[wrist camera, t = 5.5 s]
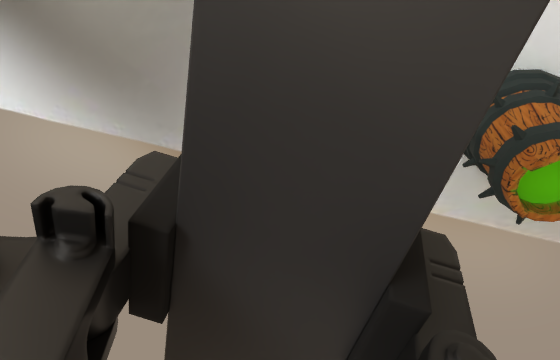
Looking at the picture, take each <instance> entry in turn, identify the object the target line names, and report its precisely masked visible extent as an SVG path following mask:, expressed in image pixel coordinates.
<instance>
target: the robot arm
mask: <svg viewBox="0 0 560 360" xmlns="http://www.w3.org/2000/svg"><path fill="white" fill-rule="evenodd" d="M180 166H181V155H180V156H179V158H177V157H173V156H170V155H167V154H163V153H160V152H156V151H153V152H151V153H149V154H147V155H144V156H142V157H140V158H138V159H137V160H136V161H135V162H134V163H133V164H132V165H131V166H130V167H129V168H128V169H127V170H126V173H123V174H122V175H121V176H120V177H119V178H118V179H117V182H116V183H114V184H113V185H112V186H111V187H110V188H109V189H108V190H107V191H106V192H105V193H103V192H102V191H100V190H98V189H94V188H91V187H87V186H66V187H60V188H55V189H53V190H50V191H48V192H46V193H43V194H41V195H40V196H39V197H37V198H36V199H35V200H34V201H33V202H32V203H31V209H32V214H33V219H34V224H35V230H36V235H37V237H6V236H0V360H107V357H108V355H109V352H110V348H111V346H112V343H113V341H114V338H115V335H116V332H117V325H118V315H119V313H120V312H121V310H122V309H123V307H124V305H125V304H126V302H127V301H128V299H129V314H132V315H135V316H138V317H142V318H145V319H148V320H151V321H154V322H157V323H161V324H162V323H163V321H164V319H165V318H166V316H167V314H168V312H169V300H170V288H171V276H172V264H173V252H174V240H175V228H176V214H177V202H178V190H179V178H180ZM463 282H464V281H463V277H462V273H461V271H460V264H459V260H458V256H457V252H456V250H455V249H454V247H453V246H452V244H451V243H450V241H449V240H448V238H447V237H446V236H445V235H444V234H440V233H437V232H433V231H430V230H427V229H423V228H421V229H420V231H419V233H418V235H417V237H416V238H415V240H414V242H413V244H412V245H411V247H410V249H409V251H408V252H407V254H406V256H405V258H404V260H403V261H402V263H401V265H400V267H399V268H398V270H397V272H396V274H395V275H394V277H393V279H392V281H391V283H390V284H389V286H388V288H387V290H386V291H385V293H384V295H383V297H382V298H381V300H380V302H379V304H378V306H377V307H376V309H375V311H374V313H373V314H372V316H371V318H370V320H369V321H368V323H367V325H366V327H365V329H364V330H363V332H362V334H361V336H360V337H359V339H358V341H357V343H356V344H355V346H354V348H353V350H352V352H351V353H350V355H349V357H348V359H347V360H496V358H495V356H494V355H493V353H492V352H491V351H490V350H489V349H488V348H487V347H486V346H485V345H484V344H483V343H481V342H480V341H478V340H477V337H476V332H475V328H474V324H473V319H472V316H471V311H470V307H469V303H468V298H467V294H466V290H465V286H464V285H463Z"/></svg>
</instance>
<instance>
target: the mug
mask: <svg viewBox="0 0 560 360" xmlns="http://www.w3.org/2000/svg"><path fill="white" fill-rule="evenodd" d="M464 154H465V155H466V156H467V157H468V158H469V159H470V160H468V161H467V162H465V163H464V164H463V167H468V166H472V165H476V166H478V168H479V169H480V171H482V172H483V173H485V174H486V175H487V176H488V178H487V179H488V181H489V183H490V186H491V187H490V188H489V189H487V190H486V191H484V192H483V193H481V194H479V195H478V196H479V198H484V197H488V196H493V195H495V196H496V198H497V199H498V201H499V202H500V203H502V204H503V205H505V206H506V207H507V208H509V209H510V210H512V211H513V212H515V213H517V214H518V215H517V220H516V224H518V225H519V224H521V222H522V221H523V220H524V219H525V218H526V217H527V218H529V219H532V220H534V221H548V222H555V221H559V220H560V77H557V76H555V75H552V74H550V73H547V72H544V71H542V70H513V71H510V72H509V74H508V76H507V77H506V79H505V81H504V83H503V84H502V86H501V88H500V90H499V91H498V93H497V95H496V97H495V99H494V100H493V102H492V104H491V106H490V107H489V109H488V111H487V113H486V114H485V116H484V118H483V120H482V122H481V123H480V125H479V127H478V129H477V130H476V132H475V134H474V136H473V137H472V139H471V141H470V143H469V145H468V146H467V148H466V150H465V152H464Z"/></svg>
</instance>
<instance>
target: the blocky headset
mask: <svg viewBox="0 0 560 360" xmlns="http://www.w3.org/2000/svg"><path fill="white" fill-rule="evenodd" d="M549 1H550V0H194V10H193V22H192V34H191V46H190V58H189V70H188V82H187V94H186V106H185V118H184V130H183V142H182V154H181V166H180V178H179V190H178V202H177V214H176V228H175V240H174V252H173V264H172V276H171V288H170V300H169V312H168V323H167V335H166V348H165V360H347V359H348V357H349V355H350V353H351V352H352V350H353V348H354V346H355V344H356V343H357V341H358V339H359V337H360V336H361V334H362V332H363V330H364V329H365V327H366V325H367V323H368V321H369V320H370V318H371V316H372V314H373V313H374V311H375V309H376V307H377V306H378V304H379V302H380V300H381V298H382V297H383V295H384V293H385V291H386V290H387V288H388V286H389V284H390V283H391V281H392V279H393V277H394V275H395V274H396V272H397V270H398V268H399V267H400V265H401V263H402V261H403V260H404V258H405V256H406V254H407V252H408V251H409V249H410V247H411V245H412V244H413V242H414V240H415V238H416V237H417V235H418V233H419V231H420V229H421V228H422V226H423V224H424V222H425V221H426V219H427V217H428V215H429V214H430V212H431V210H432V208H433V206H434V205H435V203H436V201H437V199H438V198H439V196H440V194H441V192H442V191H443V189H444V187H445V185H446V183H447V182H448V180H449V178H450V176H451V175H452V173H453V171H454V169H455V168H456V166H457V164H458V162H459V160H460V159H461V157H462V155H463V153H464V152H465V150H466V148H467V146H468V145H469V143H470V141H471V139H472V137H473V136H474V134H475V132H476V130H477V129H478V127H479V125H480V123H481V122H482V120H483V118H484V116H485V114H486V113H487V111H488V109H489V107H490V106H491V104H492V102H493V100H494V99H495V97H496V95H497V93H498V91H499V90H500V88H501V86H502V84H503V83H504V81H505V79H506V77H507V76H508V74H509V72H510V70H511V68H512V67H513V65H514V63H515V61H516V60H517V58H518V56H519V54H520V52H521V51H522V49H523V47H524V45H525V44H526V42H527V40H528V38H529V37H530V35H531V33H532V31H533V29H534V28H535V26H536V24H537V22H538V21H539V19H540V17H541V15H542V14H543V12H544V10H545V8H546V6H547V5H548V3H549Z"/></svg>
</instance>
